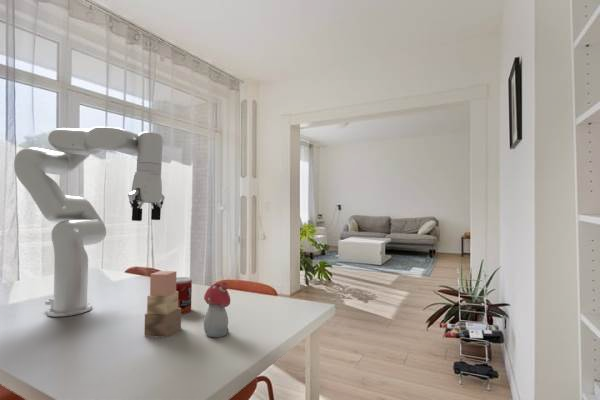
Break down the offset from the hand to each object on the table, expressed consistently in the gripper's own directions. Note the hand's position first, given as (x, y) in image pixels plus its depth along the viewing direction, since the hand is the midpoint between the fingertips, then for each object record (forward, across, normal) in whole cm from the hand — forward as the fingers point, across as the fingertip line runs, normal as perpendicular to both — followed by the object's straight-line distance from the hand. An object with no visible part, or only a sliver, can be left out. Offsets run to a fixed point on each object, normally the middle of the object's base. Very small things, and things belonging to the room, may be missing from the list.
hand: (146, 220), depth 106 cm
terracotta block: (+20, +11, +15) cm, 28 cm away
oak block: (+25, +11, +15) cm, 31 cm away
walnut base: (+31, +11, +15) cm, 37 cm away
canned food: (+32, -7, +10) cm, 34 cm away
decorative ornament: (+31, +10, +31) cm, 45 cm away
